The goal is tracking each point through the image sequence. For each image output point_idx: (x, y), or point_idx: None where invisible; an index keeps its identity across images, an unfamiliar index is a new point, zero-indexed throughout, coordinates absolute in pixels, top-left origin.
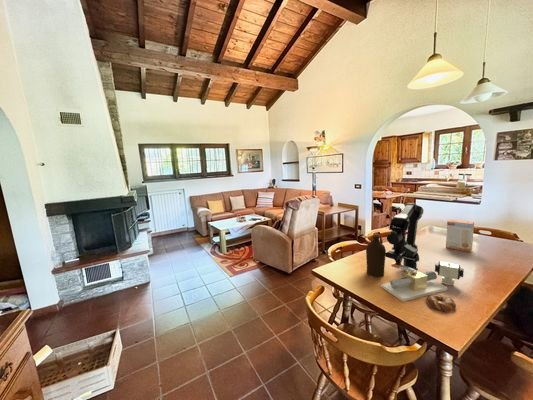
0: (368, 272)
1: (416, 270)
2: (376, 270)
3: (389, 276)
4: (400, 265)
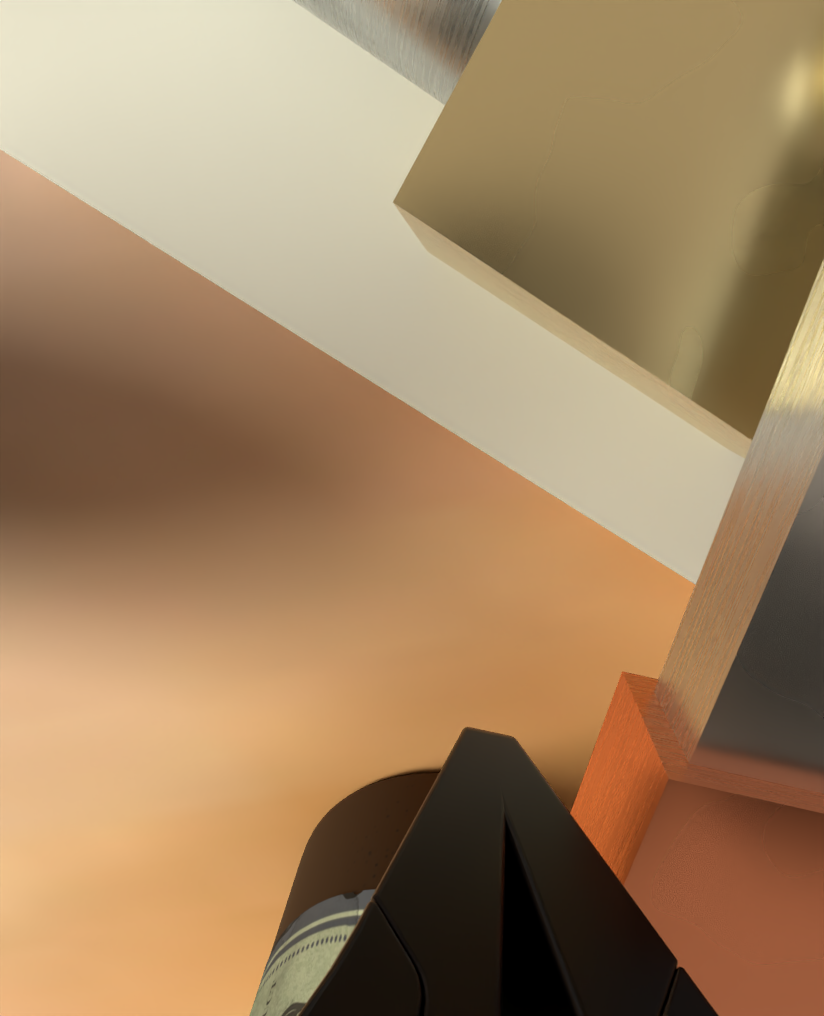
0: None
1: (494, 20)
2: None
3: (399, 687)
4: (794, 771)
